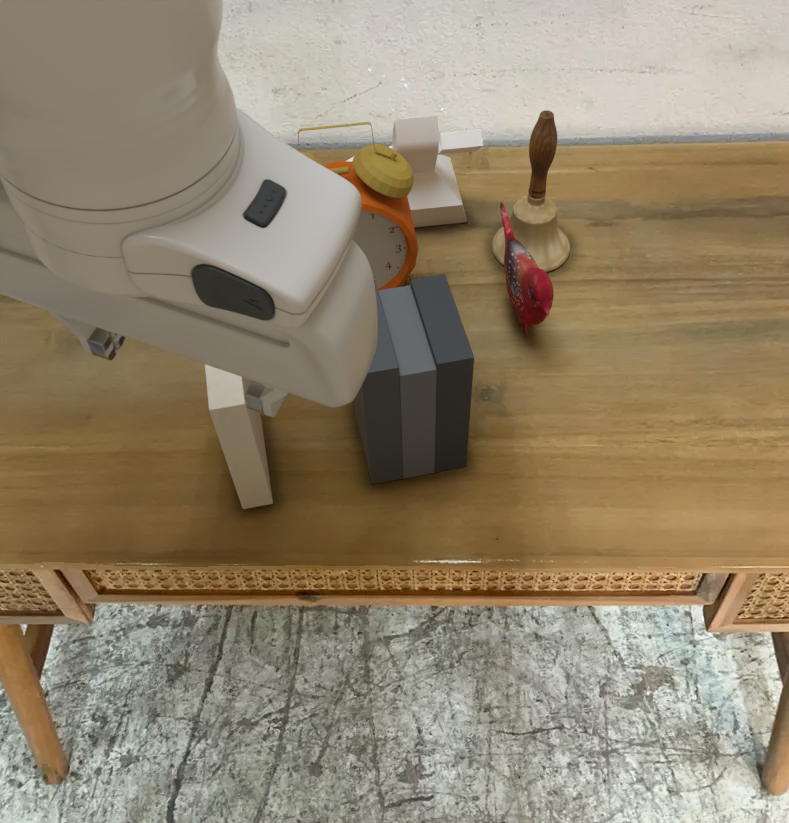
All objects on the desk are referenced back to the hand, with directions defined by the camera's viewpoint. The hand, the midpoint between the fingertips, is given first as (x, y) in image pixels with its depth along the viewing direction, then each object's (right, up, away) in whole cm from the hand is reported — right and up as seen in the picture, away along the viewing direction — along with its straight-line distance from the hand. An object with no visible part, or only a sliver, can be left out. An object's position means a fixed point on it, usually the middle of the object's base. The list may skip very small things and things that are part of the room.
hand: (186, 374), depth 44 cm
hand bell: (+26, +15, +45) cm, 54 cm away
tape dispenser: (+13, +20, +49) cm, 55 cm away
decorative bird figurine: (+23, +8, +40) cm, 47 cm away
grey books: (+12, -4, +30) cm, 33 cm away
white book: (-1, -7, +29) cm, 30 cm away
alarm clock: (+7, +10, +41) cm, 42 cm away
